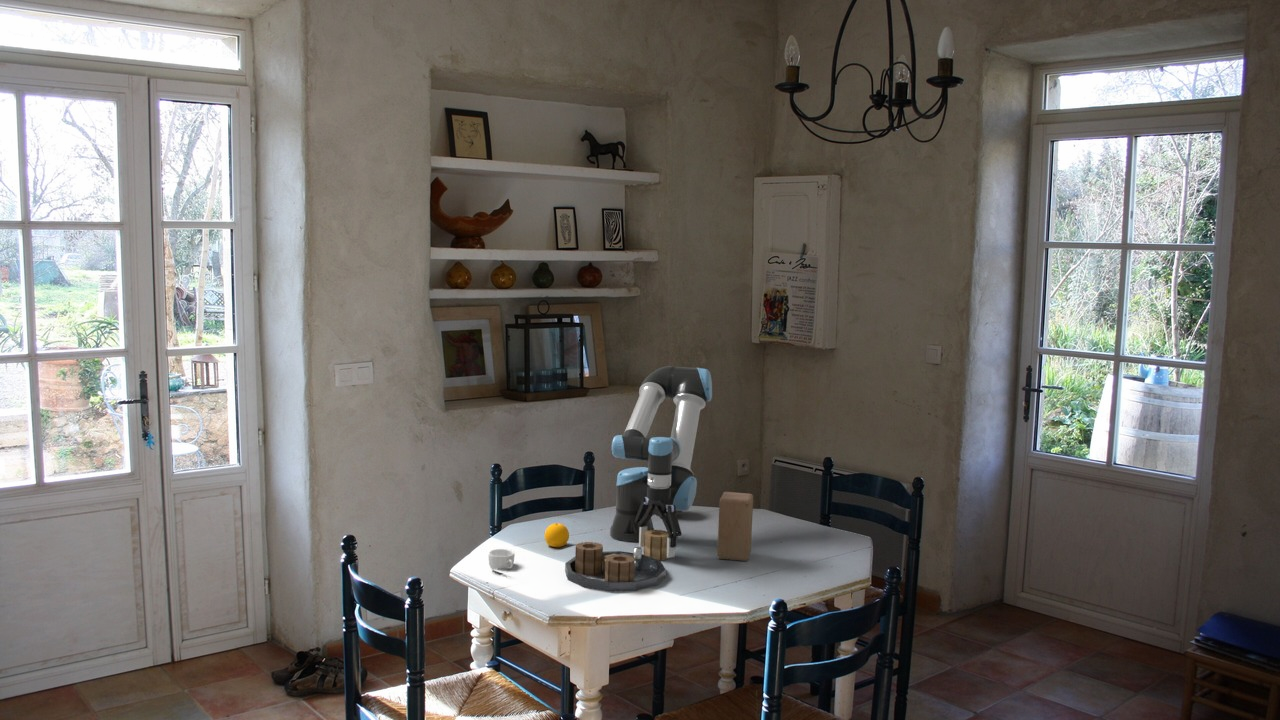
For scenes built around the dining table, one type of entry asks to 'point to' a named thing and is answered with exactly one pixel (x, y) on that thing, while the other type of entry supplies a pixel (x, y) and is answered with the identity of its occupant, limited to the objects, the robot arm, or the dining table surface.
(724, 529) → the wooden block
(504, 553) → the teacup
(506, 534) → the dining table surface
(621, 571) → the seated gear
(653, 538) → the planet gear
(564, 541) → the orange
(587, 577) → the carrier
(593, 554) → the seated gear
